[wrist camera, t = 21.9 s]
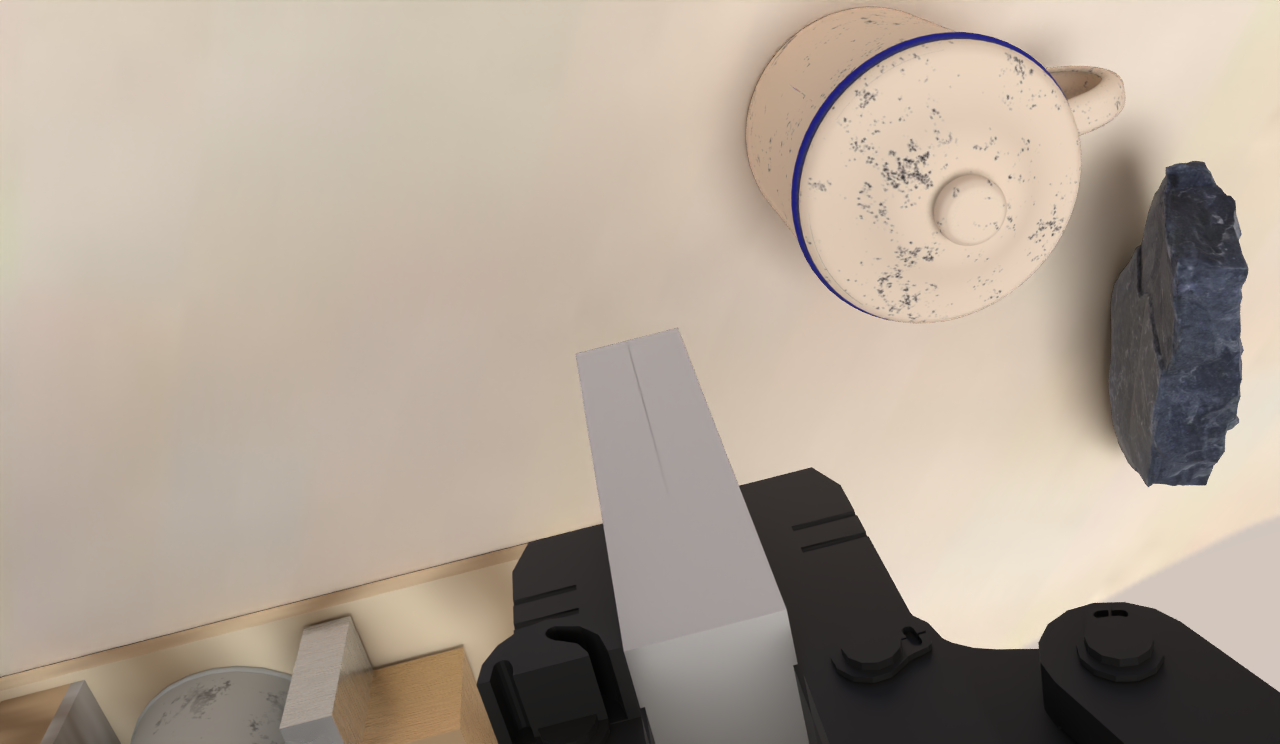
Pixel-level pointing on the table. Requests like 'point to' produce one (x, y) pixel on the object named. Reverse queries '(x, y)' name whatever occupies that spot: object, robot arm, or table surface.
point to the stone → (1179, 332)
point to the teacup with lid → (921, 159)
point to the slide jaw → (379, 695)
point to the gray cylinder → (217, 708)
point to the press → (265, 648)
